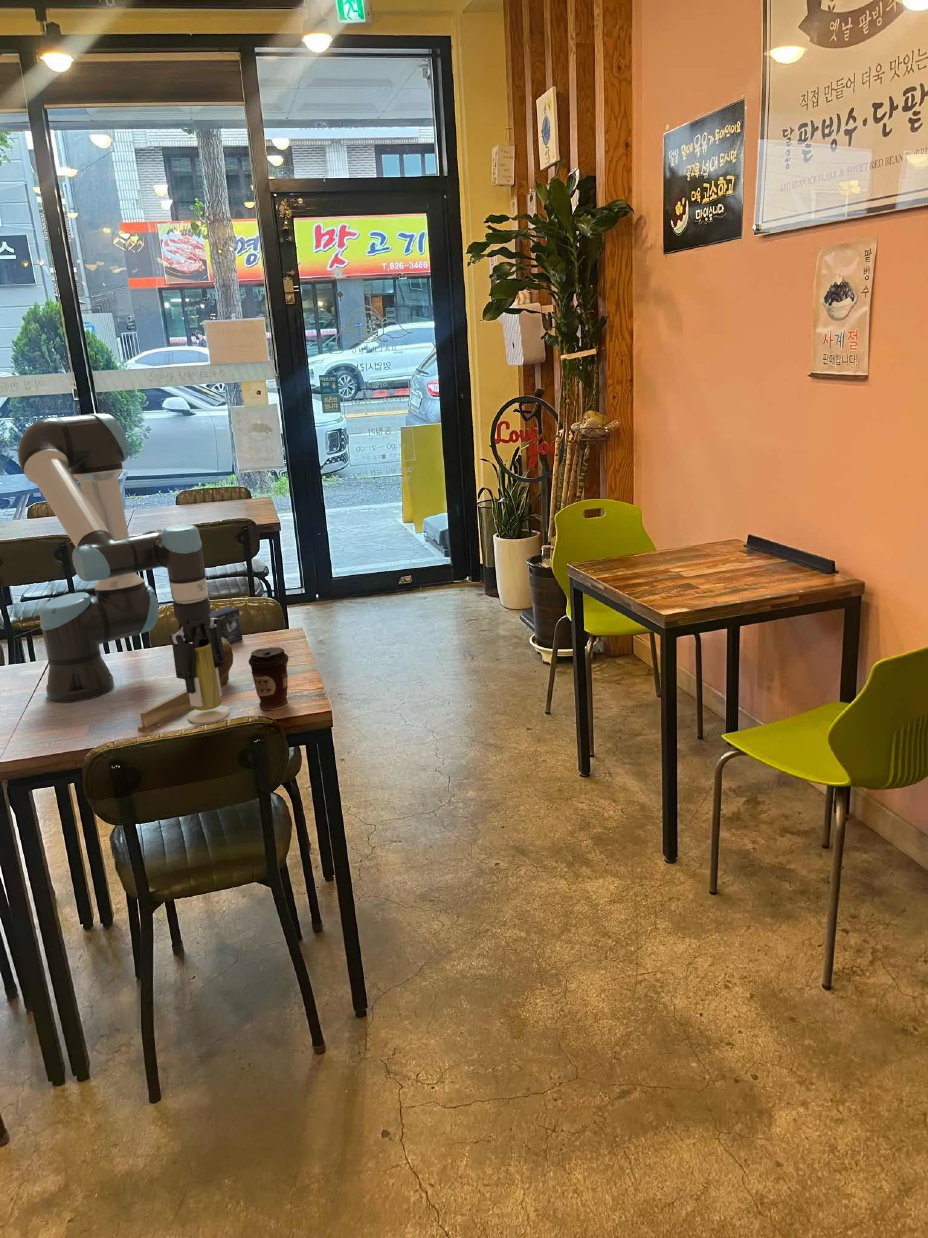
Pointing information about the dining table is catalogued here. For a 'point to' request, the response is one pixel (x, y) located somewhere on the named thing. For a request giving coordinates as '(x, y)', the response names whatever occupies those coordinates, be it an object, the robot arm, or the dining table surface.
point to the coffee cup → (270, 677)
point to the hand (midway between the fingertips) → (206, 700)
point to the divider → (164, 711)
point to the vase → (207, 678)
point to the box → (229, 623)
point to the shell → (226, 662)
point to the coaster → (208, 715)
